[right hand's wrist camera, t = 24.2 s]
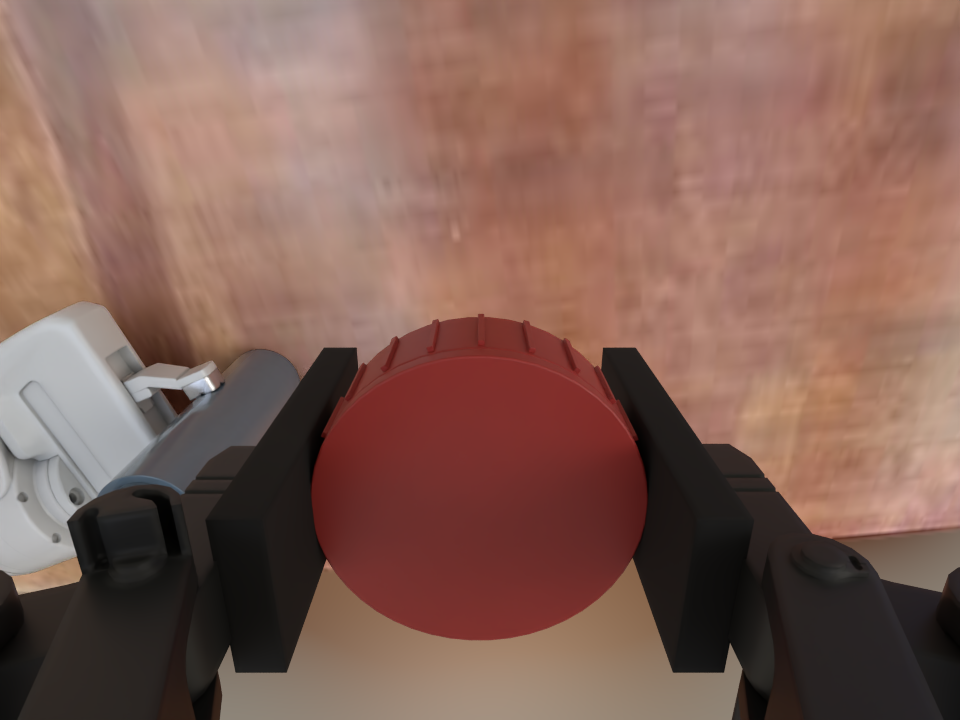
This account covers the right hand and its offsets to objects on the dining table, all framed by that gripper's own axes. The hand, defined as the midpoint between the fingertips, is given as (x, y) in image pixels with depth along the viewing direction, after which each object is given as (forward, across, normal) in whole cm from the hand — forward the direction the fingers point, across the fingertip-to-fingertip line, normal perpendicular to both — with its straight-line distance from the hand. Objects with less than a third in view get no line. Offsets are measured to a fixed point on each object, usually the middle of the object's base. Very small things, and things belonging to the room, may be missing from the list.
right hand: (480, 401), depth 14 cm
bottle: (+27, +16, +11) cm, 33 cm away
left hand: (+20, +15, +11) cm, 27 cm away
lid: (-4, 0, 0) cm, 4 cm away
